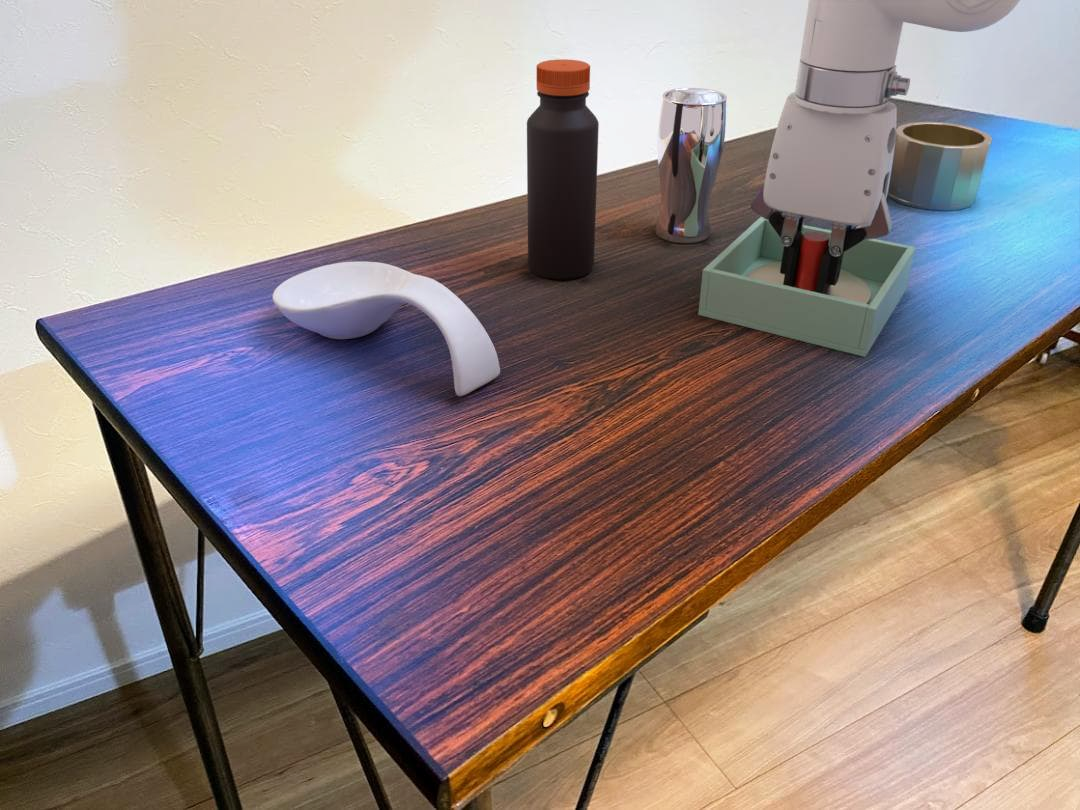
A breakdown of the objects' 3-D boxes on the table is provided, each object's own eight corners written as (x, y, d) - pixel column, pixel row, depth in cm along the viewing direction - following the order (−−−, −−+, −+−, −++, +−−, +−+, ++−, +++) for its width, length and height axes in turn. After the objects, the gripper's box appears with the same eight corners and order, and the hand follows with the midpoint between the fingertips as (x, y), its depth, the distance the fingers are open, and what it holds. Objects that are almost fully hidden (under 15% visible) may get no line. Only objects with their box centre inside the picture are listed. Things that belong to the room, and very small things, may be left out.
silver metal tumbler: (711, 222, 104) (726, 87, 96) (715, 246, 98) (731, 105, 90) (650, 220, 104) (660, 86, 96) (651, 244, 98) (661, 103, 90)
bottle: (606, 265, 94) (615, 63, 83) (566, 287, 89) (569, 77, 78) (555, 249, 97) (557, 53, 86) (514, 269, 93) (510, 66, 82)
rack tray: (905, 290, 89) (916, 246, 86) (865, 357, 78) (876, 309, 75) (755, 257, 95) (760, 216, 93) (697, 315, 84) (702, 269, 82)
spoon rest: (252, 326, 82) (238, 252, 79) (354, 284, 90) (345, 215, 86) (431, 420, 69) (425, 337, 66) (532, 362, 77) (532, 285, 73)
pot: (981, 190, 113) (998, 129, 109) (966, 216, 105) (983, 153, 101) (894, 175, 117) (907, 117, 113) (874, 200, 110) (886, 138, 106)
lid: (882, 287, 88) (895, 228, 84) (850, 336, 79) (863, 272, 76) (767, 262, 93) (775, 205, 90) (725, 305, 84) (733, 244, 81)
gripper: (952, 88, 75) (904, 290, 85) (764, 65, 82) (740, 254, 92) (934, 108, 69) (884, 322, 79) (734, 82, 76) (712, 281, 86)
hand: (807, 284), depth 85 cm, fingers closed on lid, 2 cm apart
